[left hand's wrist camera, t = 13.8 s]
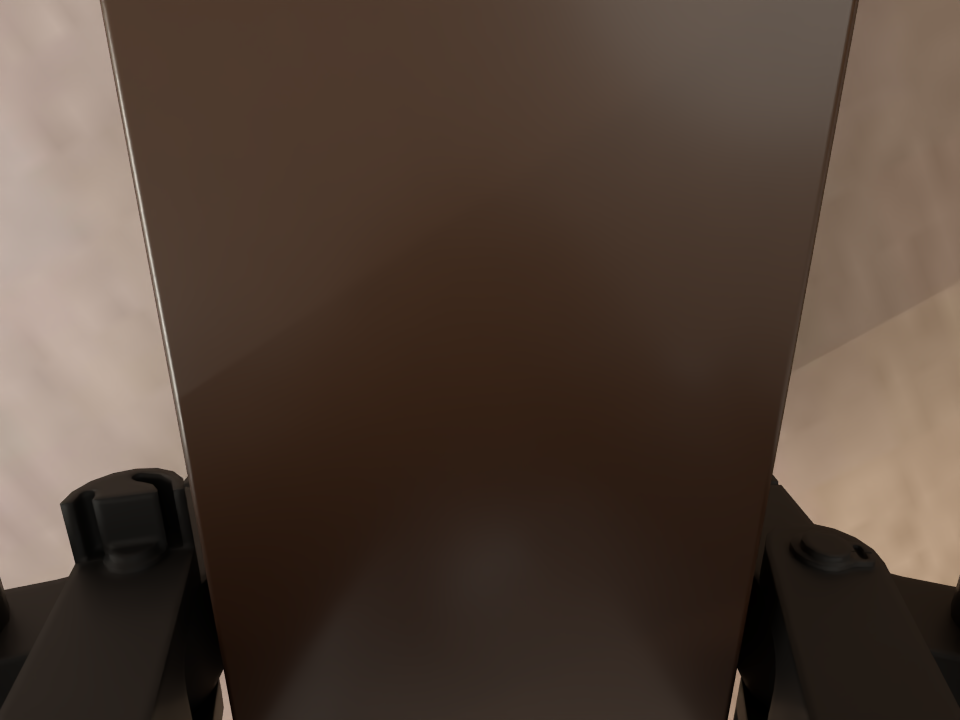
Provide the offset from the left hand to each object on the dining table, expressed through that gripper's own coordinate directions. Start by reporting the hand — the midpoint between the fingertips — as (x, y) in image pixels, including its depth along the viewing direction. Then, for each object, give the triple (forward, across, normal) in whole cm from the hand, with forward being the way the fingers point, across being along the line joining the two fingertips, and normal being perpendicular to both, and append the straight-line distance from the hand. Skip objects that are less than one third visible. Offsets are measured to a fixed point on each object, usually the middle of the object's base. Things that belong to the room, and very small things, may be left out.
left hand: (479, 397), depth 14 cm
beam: (0, 0, -12) cm, 12 cm away
